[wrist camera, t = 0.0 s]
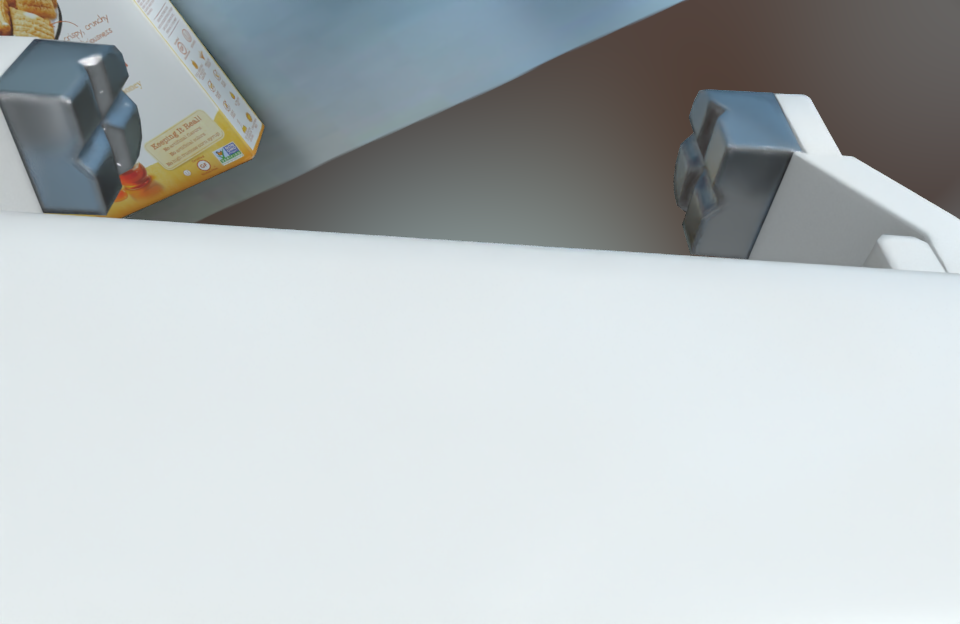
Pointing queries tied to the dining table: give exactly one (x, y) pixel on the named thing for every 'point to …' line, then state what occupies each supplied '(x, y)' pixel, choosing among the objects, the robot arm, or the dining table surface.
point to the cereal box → (154, 91)
